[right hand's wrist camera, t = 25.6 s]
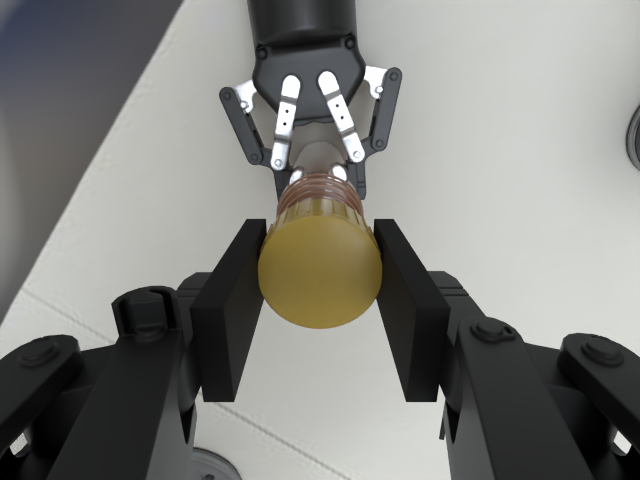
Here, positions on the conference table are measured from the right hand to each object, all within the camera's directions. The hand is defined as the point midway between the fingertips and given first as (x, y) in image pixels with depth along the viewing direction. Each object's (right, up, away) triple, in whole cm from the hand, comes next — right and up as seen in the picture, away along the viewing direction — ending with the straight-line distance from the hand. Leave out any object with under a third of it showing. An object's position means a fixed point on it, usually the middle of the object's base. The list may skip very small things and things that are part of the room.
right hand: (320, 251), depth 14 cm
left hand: (0, +3, +16) cm, 16 cm away
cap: (0, -1, -2) cm, 2 cm away
